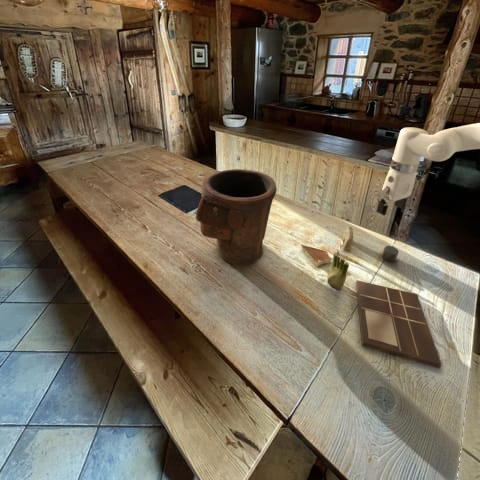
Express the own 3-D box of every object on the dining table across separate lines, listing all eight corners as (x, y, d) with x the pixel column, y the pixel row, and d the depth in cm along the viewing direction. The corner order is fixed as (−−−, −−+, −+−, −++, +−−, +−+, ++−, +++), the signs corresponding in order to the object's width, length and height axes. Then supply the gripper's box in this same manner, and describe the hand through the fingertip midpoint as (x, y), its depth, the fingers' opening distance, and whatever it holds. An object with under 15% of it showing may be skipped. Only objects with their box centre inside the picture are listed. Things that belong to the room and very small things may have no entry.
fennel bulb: (344, 292, 87) (351, 264, 81) (329, 292, 86) (336, 264, 81) (338, 278, 92) (344, 251, 87) (324, 278, 92) (329, 251, 86)
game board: (415, 297, 85) (417, 293, 84) (439, 368, 66) (441, 364, 65) (355, 283, 90) (356, 279, 89) (362, 345, 71) (363, 341, 70)
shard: (300, 247, 106) (301, 244, 105) (316, 243, 108) (317, 240, 107) (316, 266, 96) (316, 263, 96) (333, 262, 99) (334, 258, 98)
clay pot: (188, 242, 107) (182, 175, 94) (251, 223, 119) (253, 162, 106) (211, 288, 87) (208, 211, 74) (284, 260, 99) (292, 189, 86)
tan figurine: (337, 253, 103) (337, 235, 113) (348, 258, 102) (347, 238, 112) (344, 240, 99) (343, 222, 109) (356, 244, 98) (354, 226, 109)
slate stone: (394, 255, 103) (397, 247, 101) (397, 263, 98) (400, 255, 97) (380, 252, 104) (383, 244, 102) (382, 260, 100) (385, 252, 98)
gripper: (397, 175, 80) (383, 222, 88) (431, 165, 87) (415, 209, 95) (375, 166, 86) (364, 210, 94) (409, 158, 93) (396, 199, 101)
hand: (390, 210), depth 94 cm, fingers open, 9 cm apart
